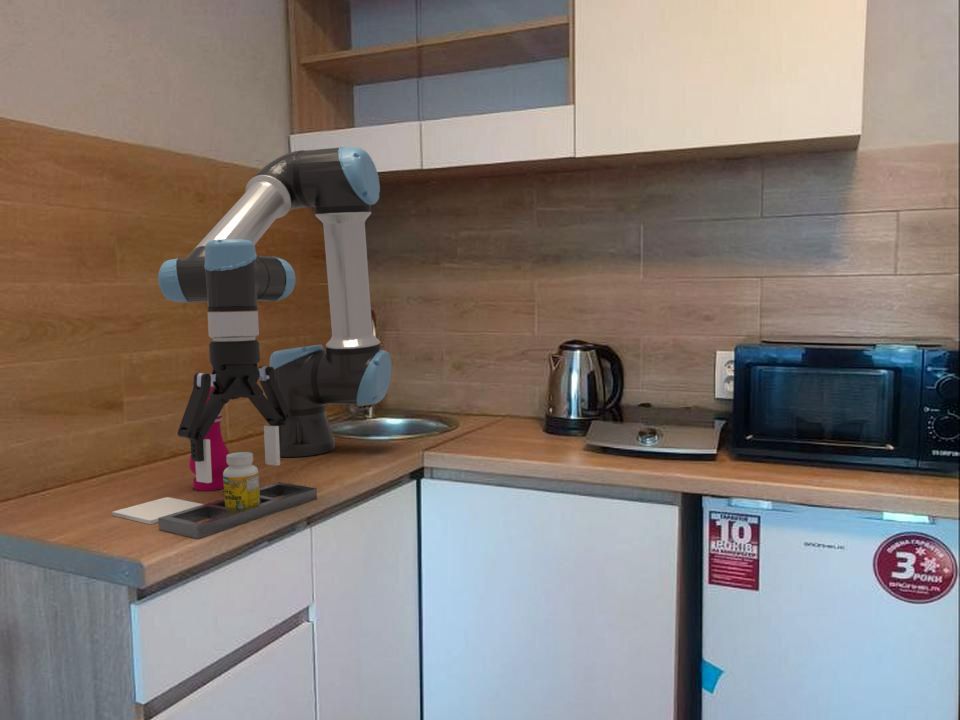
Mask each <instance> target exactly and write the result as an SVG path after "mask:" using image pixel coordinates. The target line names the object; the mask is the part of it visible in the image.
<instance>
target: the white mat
mask: <svg viewBox="0 0 960 720" xmlns="http://www.w3.org/2000/svg"><path fill="white" fill-rule="evenodd" d="M200 505H204V503H199V502H194V501H188V500H185V499H180V498H179V499H178V498H174V497H170V496H169V497H168V496H166V497H162V498H158V499H155V500H151V501H147V502H142V503H140V504H136V505H135V504H134V505H133V506H129V507H125V508H121V509H117V510H114V511H112V512H111V514H112V516H114V517H117V518H122V519H126V520H131V521H134V522H138V523H143V524H147V525H153V524H156V523H159V522H158V518H159V517H163V516H166V515H170V514H173V513H177V512H180V511H183V510H187V509H190V508H194V507H197V506H200Z"/></svg>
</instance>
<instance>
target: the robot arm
mask: <svg viewBox="0 0 960 720" xmlns="http://www.w3.org/2000/svg"><path fill="white" fill-rule="evenodd" d="M380 186H381V185H380V178H379V175H378V170H377V168H376V165H375V163H374V161H373V159H372V157H371V155H370V154H369V153H368V152H367V151H366V150H365V149H363V148H361V147H354V146H353V147H350V146H349V147H348V146H347V147H345V146H343V147H331V148H320V149H307V150H294V151H291V152H288V153H285V154H283V155H281V156H279V157H277V158H275V159H274V160H272V161H271V162H269V163H268V164H266V165H265V166H263V167H262V168H261V169H260V170H258V171H257V172H256V173H255V174H254V175H253V176H252V177H251V178H250V179H249V181H248V182H247V184H246V186H245V192H244V194H243V195H242V196H241V197H240V199H239V198H238V200H237V201H236V202H235V204H234V205H233V206H232V207H231V208H230V209H229V210H228V211H227V212H226V213H225V214H224V215H223V217H222V218H221V219H220V220H219V221H218V222H217V223H216V225H214V227H212V229H211V230H210V231H209V232H208V233H207V234H206V236H205V237H204V238H203V239H202V240H200V242H199V243H198V244H197V245H196V247H194V249H193V250H192V251H191V252H190V253H189V254H188V255H187V256H186V257H184V258H181V257H177V258H174V259H168V260H166V261H164V262H163V263H162V264H161V266H160V268H159V272H158V276H157V280H158V286H159V289H160V290H161V293H162V295H163V297H165V298H166V299H167V300H168V301H170V302H172V303H173V302H174V303H187V304H193V303H207V329H208V337H209V338H210V339H211V338H212V340H211V341H210V342H209V343H208V350H209V353H208V355H209V363H210V364H211V366H212V371H211V374H210V373H203V372H196V373H194V375H193V388H192V390H191V392H190V393H191V394H190V396H189V399H188V402H187V406H186V408H185V411H184V413H183V416H182V419H181V421H180V424H179V427H178V428H177V429H178V430H177V436H178V437H180V438H184V439H187V440H189V441H190V456H191V458H192V461H195V466H196V475H195V477H196V481H198V482H204V483H211V482H212V471H211V450H210V439H205V437H206V435H207V433H208V432H209V430H210V428H211V427H212V425H213V423H214V422H215V420H216V418H217V416H218V415H219V413H220V412H221V411H222V409H223V408H224V406H225V405H226V404H227V403H229V402H230V400H237V399H240V398H243V399H245V398H247V399H248V400H249V401H250V402H251V403H252V405H253V406H254V407H255V409H256V410H257V411H258V412H259V414H260V415H261V416H262V417H263V418H264V420H265V421H266V422H267V424H264V425H263V437H264V439H263V441H264V460H265V461H264V463H265V465H269V466H281V458H282V457H283V458H289V457H290V458H295V457H309V456H315V455H321V454H322V455H323V454H325V453H328V452H332V451H333V450H335V449H336V446H335V445H336V442H335V439H336V438H335V436H334V435H333V434H332V430H331V426H330V423H329V420H328V418H327V414H326V405H358V406H364V405H375V404H376V405H377V404H378V403H380V402H381V401H382V400H383V399H384V398H385V396H386V394H387V393H388V390H389V386H390V383H391V377H392V368H393V367H392V359H391V358H390V357H391V356H390V354H389V353H390V352H388V351H387V350H384V349H381V340H379V339H378V338H377V337H376V336H375V334H373V323H372V307H371V295H370V293H371V292H370V281H369V268H368V267H369V265H368V254H367V253H368V252H367V251H368V250H367V239H366V237H367V236H366V235H367V234H366V224H365V223H366V221H367V219H368V218H369V217H370V215H371V214H372V205H373V206H374V205H375V204H376V203H378V201H379V199H380V193H381V187H380ZM301 208H302V209H303V208H314V214H315V215H314V216H315V218H317V219H318V220H319V221H320V222H321V223H322V225H323V237H324V238H323V239H324V248H325V251H324V252H325V260H326V261H325V263H326V274H327V285H328V286H327V288H328V299H329V302H328V303H329V313H330V322H331V323H330V324H331V325H330V327H331V338H330V339H329V340H328V342H326V343H325V348H324V347H323V345H322V344H315V345H313V344H312V345H307V346H301V347H300V346H299V347H294V348H287V349H286V348H285V349H281V350H276V351H274V352H272V353H271V355H270V356H269V357H270V358H269V366H264V365H263V366H261V365H260V366H259V367H258V363H260V361H261V354H260V353H261V352H260V341H259V340H258V339H256V337H259V336H260V331H259V329H260V328H259V311H258V310H259V309H258V302H273V303H275V302H277V301H282V300H283V299H284V300H285V299H286V298H288V297H289V296H290V295H291V294H292V293H293V291H294V289H295V286H296V272H295V271H294V268H293V266H291V264H290V263H289V262H287V260H285V259H283V258H279V257H276V256H274V255H270V256H266V255H265V256H264V255H257V252H256V244H257V243H258V242H259V240H260V239H261V238H262V237H263V235H264V234H265V233H266V231H268V229H270V227H271V226H272V224H273V223H274V222H275V221H276V219H280V218H283V217H284V216H286V215H287V214H288V213H289V211H291V210H296V209H301ZM258 381H259V383H260V385H259V384H258V383H257V382H258ZM260 386H261V387H260ZM210 387H214V388H213V390H212V392H211V393H210V395H209V392H210ZM208 396H209V400H208V402H207V404H206V401H207V398H208ZM205 404H206V405H205Z"/></svg>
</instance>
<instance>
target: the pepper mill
mask: <svg viewBox="0 0 960 720" xmlns="http://www.w3.org/2000/svg"><path fill="white" fill-rule="evenodd" d="M214 387H215V386H211V387H210V392H209V395H210V393H211V392H212V390H213V388H214ZM208 400H209V396H208V398H207V401H206V404H207V402H208ZM206 404H205V405H206ZM223 419H224V418H223V412H221V411H220V413H219V415H218V416H217V418H216V420H215V422H214V423H213V425H212V427H211V428H210V430H209V432H208V433H207V435H206V437H205V439H210V450H211V471H212V482H211V483H204V482H198V481H196V466H195V461H192V458H191V455H190V457H189V469H190V471H191V472H192V473H193V474H194V475H195V477H193V479H192V480H193V482H192V483H193V486H192V487H193V489H194V490H196V491H202V492H205V491H209V492H210V491H216V490H217V491H218V490H221V489H224V480H223V472H224V470H225V469H226V468H227V467H229V465H228V464H227V455H228V454H231V453H230V451H229V448H228V447H227V445H226V443H225V441H224V439H223V436H222V430H221V421H223Z"/></svg>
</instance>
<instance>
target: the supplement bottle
mask: <svg viewBox="0 0 960 720" xmlns="http://www.w3.org/2000/svg"><path fill="white" fill-rule="evenodd" d="M253 462H254V454H253V452H249V451H239V452H232V453H230V454H228V455H227V464H228V465H229V467H227V468H226V469H225V470H224V472H223V480H224V488H223V491H224V493H223V494H224V498H225V507H227V508H232V509H237V510H242V509H245V508H248V507H251V506H254V505H258V504H260V490H259V488H260V479H259V478H260V477H259V476H260V475H259V468H258V467H257V466H256V465H255V464H253Z"/></svg>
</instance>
